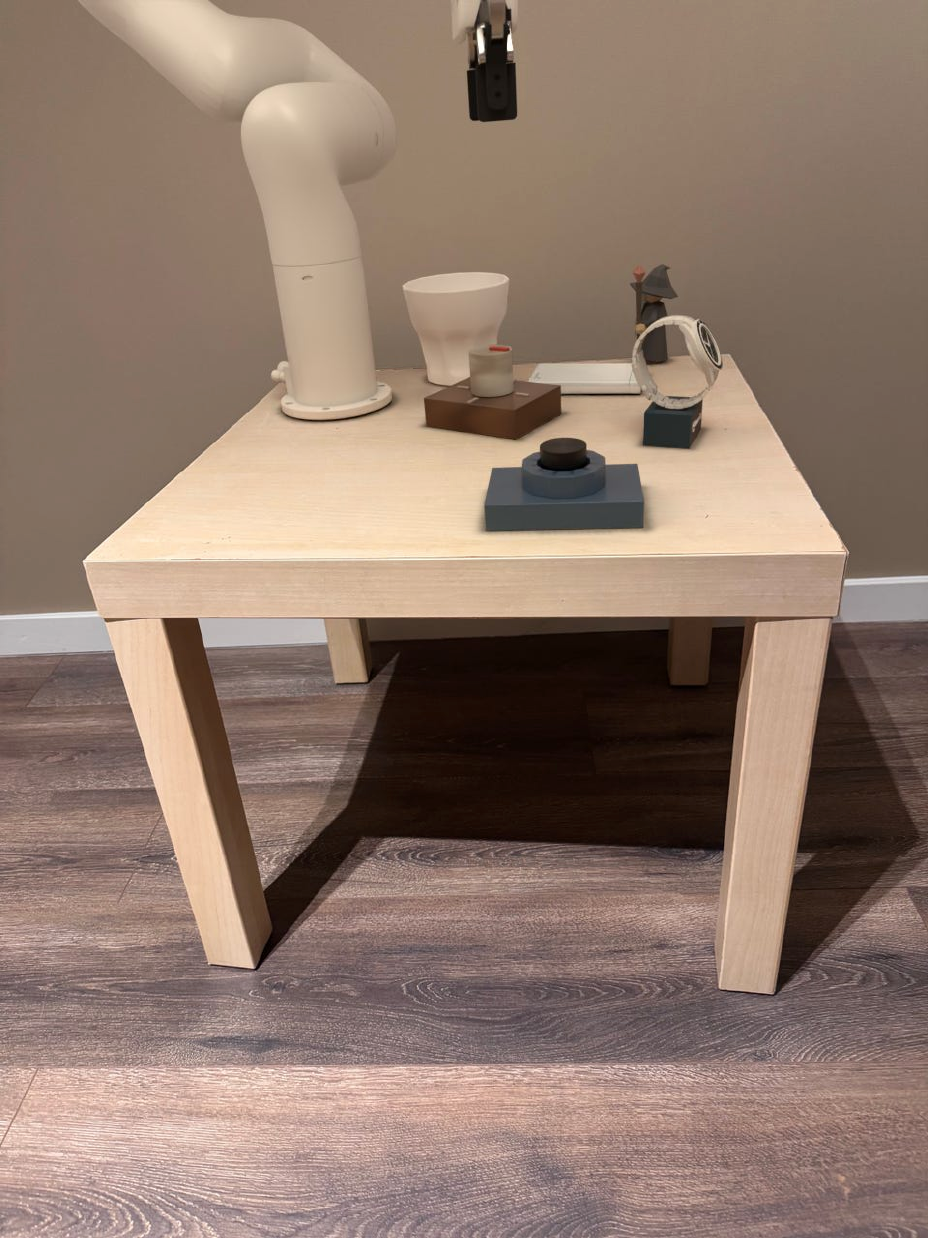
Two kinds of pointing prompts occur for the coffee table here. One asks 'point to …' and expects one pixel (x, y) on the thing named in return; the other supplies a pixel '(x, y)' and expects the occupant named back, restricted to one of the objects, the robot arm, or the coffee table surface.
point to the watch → (673, 415)
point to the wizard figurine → (652, 310)
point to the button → (563, 454)
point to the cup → (455, 319)
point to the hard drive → (588, 378)
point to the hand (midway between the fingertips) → (492, 119)
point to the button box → (564, 496)
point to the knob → (491, 370)
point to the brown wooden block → (493, 409)
